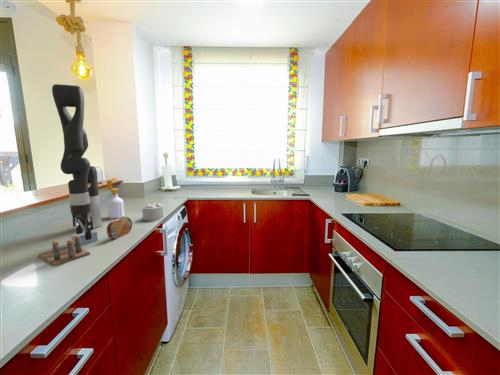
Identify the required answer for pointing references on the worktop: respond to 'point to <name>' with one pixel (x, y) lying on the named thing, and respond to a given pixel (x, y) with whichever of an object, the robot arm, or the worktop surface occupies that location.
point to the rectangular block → (83, 240)
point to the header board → (64, 252)
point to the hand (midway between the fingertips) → (84, 237)
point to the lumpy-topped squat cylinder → (153, 211)
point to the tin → (119, 227)
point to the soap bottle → (115, 203)
